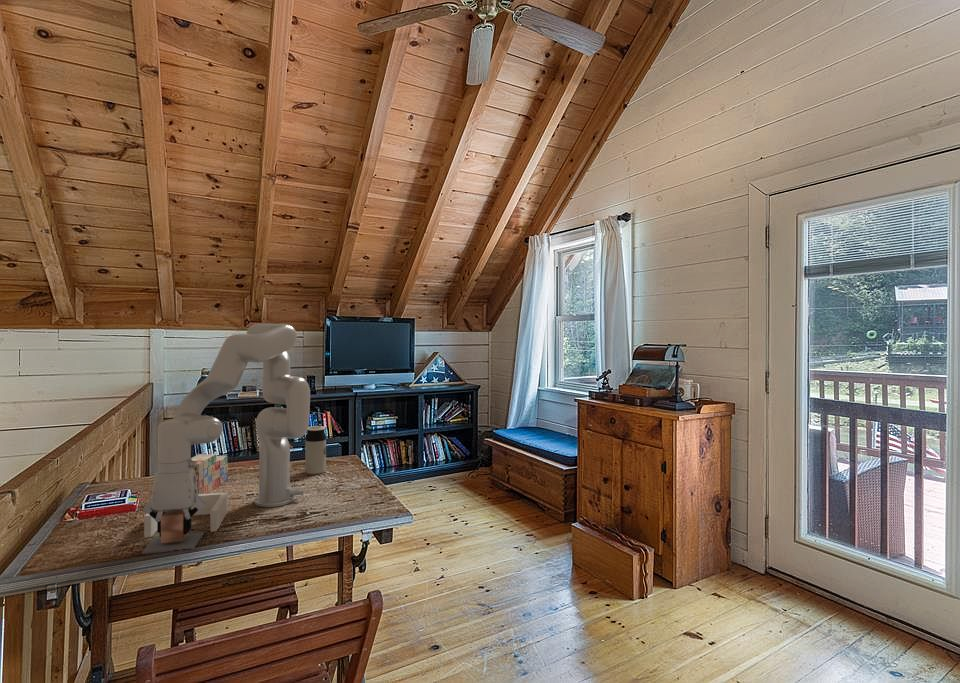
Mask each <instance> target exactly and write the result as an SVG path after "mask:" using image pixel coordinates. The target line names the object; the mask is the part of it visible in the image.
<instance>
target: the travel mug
mask: <svg viewBox="0 0 960 683" xmlns="http://www.w3.org/2000/svg"><path fill="white" fill-rule="evenodd" d="M326 429H327V428H326V426H322V425H313V426H308V429H307V432H306V433H305V435H304V437H305V441H304V442H305V447H304V448H305V451H304V452H305V455H304V456H305V459H304V461H305V462H304V465H305V466H304V468H305V469H304V472H305V473H306V474H308V475H320V474H322V473H325V472H326V470H327V433H326V432H325V430H326ZM319 473H320V474H319Z"/></svg>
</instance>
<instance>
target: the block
mask: <svg viewBox="0 0 960 683" xmlns="http://www.w3.org/2000/svg"><path fill="white" fill-rule="evenodd" d="M184 519H185V515H184V512H183V509H178V510H167V511H166V512H165V513H164V514H163V515H162V516H161V543H169V542H179V541H183V540H184V538H185V537H186V535H187V534H188V533H189V532H188V533H187V534H183V521H184Z"/></svg>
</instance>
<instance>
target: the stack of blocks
mask: <svg viewBox="0 0 960 683" xmlns="http://www.w3.org/2000/svg"><path fill="white" fill-rule="evenodd" d="M191 458H192V461H197V465H196V466H193V467H191V469H194V470H195V475H196V481H197V492H198V494H206V493H207V494H209V493H210V492H211V491H212V490H214V489H215V488H217V487H218V486H219V484H220V485H221V484H223V483H224V482H226V481H227V480H228V479H229V477H228V476H229V475H228V474H229V472H228V471H229V463H228V461H229V459H228V455H217V454H216V453H199V454H197V455H195V456H192V457H191Z"/></svg>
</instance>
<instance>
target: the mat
mask: <svg viewBox="0 0 960 683" xmlns="http://www.w3.org/2000/svg"><path fill="white" fill-rule="evenodd" d="M204 534H205V531H199V532H197V531H196V532H188V534H187V535H186V537H185V538H184V540H183V541H179V542H169V543H161V537H159V535H156V536H154V537H153V538H152V539H151V541H150V542H149V543H148V544H147V546H146V547H145V548H144V549H143V550H142V552H141V555H148V554H156V553H157V554H158V553H168V551H169V552H175V551H174V550H179V551H183V550H182V549H190V550H193V549H192V548H195V549H196V547H197V546H196V545H198V544H199V542H200V540H202V537H203V536H204ZM195 546H196V547H195Z"/></svg>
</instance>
